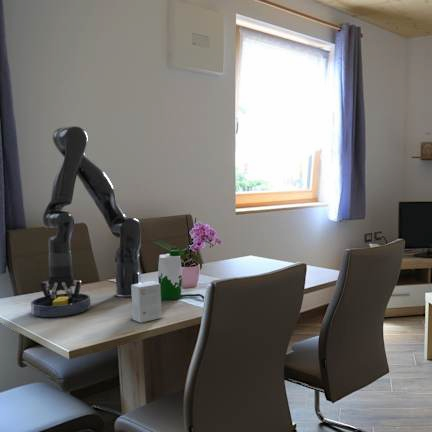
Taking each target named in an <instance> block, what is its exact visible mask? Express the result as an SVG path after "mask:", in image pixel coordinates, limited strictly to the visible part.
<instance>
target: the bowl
mask: <svg viewBox="0 0 432 432" xmlns="http://www.w3.org/2000/svg"><path fill="white" fill-rule="evenodd" d="M58 297H67V293H66V292H65V293H57V295H56V298H58ZM73 300H74V303H73V304H68V305H59V306H51V299H50V298H46V297H45V296H41V297H37V298H35V299H33V300H31V301H30V312H31V315H32V316H34V317H40V318H64V317H69V316H75V315H78V314H81V313H83V312H86V311H88V310H89V309H91V296H90V295H89V294H86V293H80V292H79V294H78V295H77V296H76V297H74V298H73Z"/></svg>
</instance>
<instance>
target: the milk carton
mask: <svg viewBox="0 0 432 432" xmlns="http://www.w3.org/2000/svg"><path fill="white" fill-rule="evenodd" d="M182 269H183V268H182V254H181V250H180V249H170V250H169V253H166V254H165V253H164V254H159V256H158V267H157V275H158V276H157V277H158V278H157V279H158V283H160V286H161V298H162V299H161V301H170V300H181V297H180V296H181V295H182V287H183V280H182V278H183V276H182V275H183V274H182V273H183V272H182Z"/></svg>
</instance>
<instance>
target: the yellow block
mask: <svg viewBox="0 0 432 432" xmlns="http://www.w3.org/2000/svg"><path fill="white" fill-rule="evenodd" d="M52 303H53V306H59V305H68V296H67V297H58V298H57V299H55V300H54V301H53V302H52Z"/></svg>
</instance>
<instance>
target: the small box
mask: <svg viewBox="0 0 432 432" xmlns="http://www.w3.org/2000/svg"><path fill="white" fill-rule="evenodd" d="M143 282H144V283H139V284H133V285H131V291H132V296H131V312H132V320H133V321H135V322H138V323H141V324H142V323H146V322H149V321H153V320H158V319H162V318H163V317H162V299H161V286H160V283H159V282H157V281H153V280H151V281H143Z"/></svg>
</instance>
